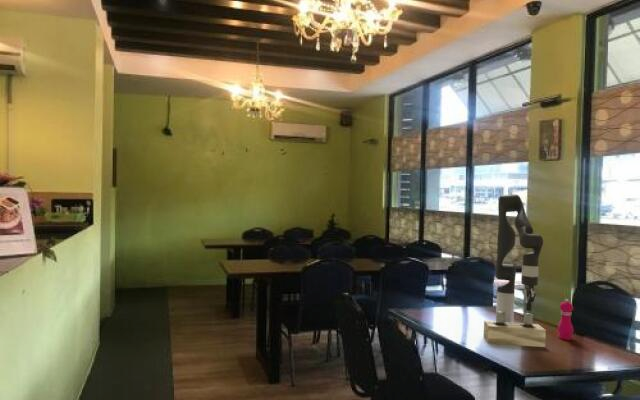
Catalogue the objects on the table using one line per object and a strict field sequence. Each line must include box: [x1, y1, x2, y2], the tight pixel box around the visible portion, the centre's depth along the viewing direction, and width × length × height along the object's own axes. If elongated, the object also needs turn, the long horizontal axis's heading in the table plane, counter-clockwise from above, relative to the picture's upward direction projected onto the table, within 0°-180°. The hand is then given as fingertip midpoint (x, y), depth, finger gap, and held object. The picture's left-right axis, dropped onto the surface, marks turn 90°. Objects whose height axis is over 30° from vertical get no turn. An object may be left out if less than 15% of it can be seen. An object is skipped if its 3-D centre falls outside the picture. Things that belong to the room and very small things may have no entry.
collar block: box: [483, 320, 547, 348], centre depth 248 cm, size 12×26×8 cm, turn 83°
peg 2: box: [523, 312, 534, 327], centre depth 247 cm, size 4×4×8 cm
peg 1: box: [495, 311, 505, 325], centre depth 249 cm, size 4×4×8 cm
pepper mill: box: [557, 298, 574, 341], centre depth 259 cm, size 7×7×20 cm
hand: (528, 310), depth 247 cm, fingers closed
